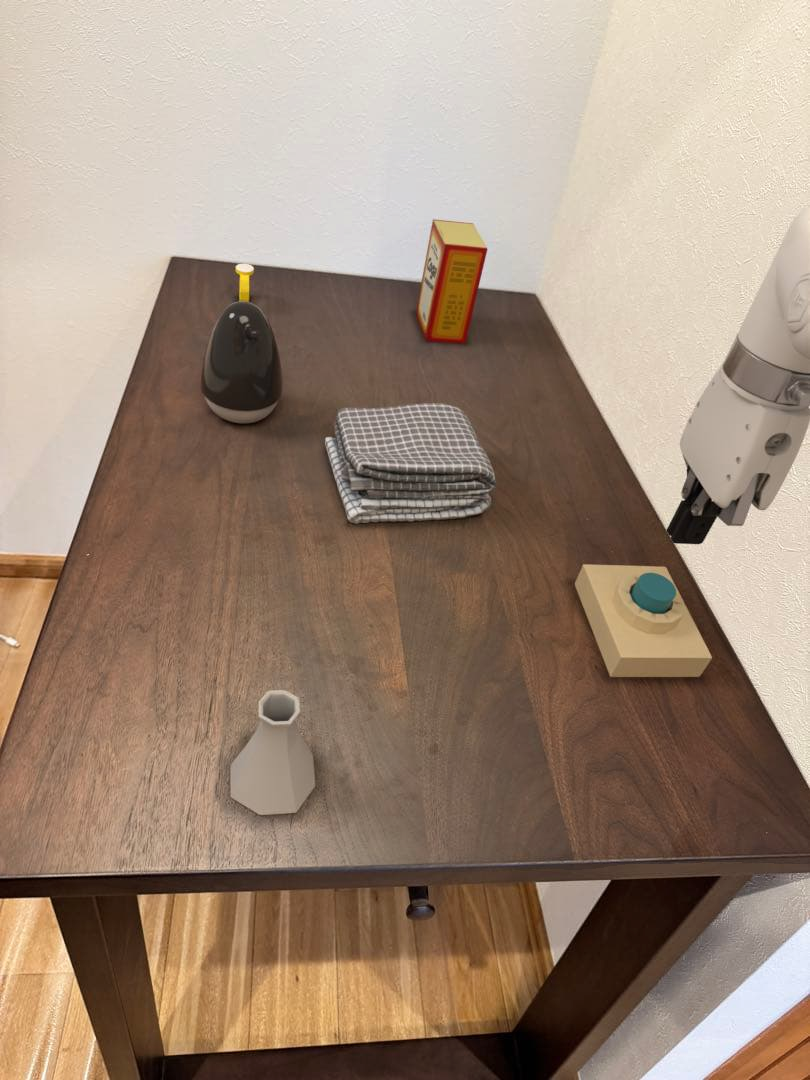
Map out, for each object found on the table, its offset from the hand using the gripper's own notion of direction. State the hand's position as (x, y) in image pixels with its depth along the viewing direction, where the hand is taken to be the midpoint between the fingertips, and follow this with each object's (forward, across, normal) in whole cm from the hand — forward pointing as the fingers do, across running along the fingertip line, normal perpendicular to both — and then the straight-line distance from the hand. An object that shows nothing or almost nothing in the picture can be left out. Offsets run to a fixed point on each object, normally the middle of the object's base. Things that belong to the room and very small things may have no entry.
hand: (683, 538), depth 75 cm
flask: (+14, -16, +38) cm, 44 cm away
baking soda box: (+13, +65, +11) cm, 67 cm away
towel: (+14, +24, +22) cm, 35 cm away
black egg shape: (+14, +37, +42) cm, 58 cm away
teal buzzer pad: (+14, +1, 0) cm, 14 cm away
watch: (+13, +67, +43) cm, 81 cm away
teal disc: (+9, +1, 0) cm, 9 cm away
